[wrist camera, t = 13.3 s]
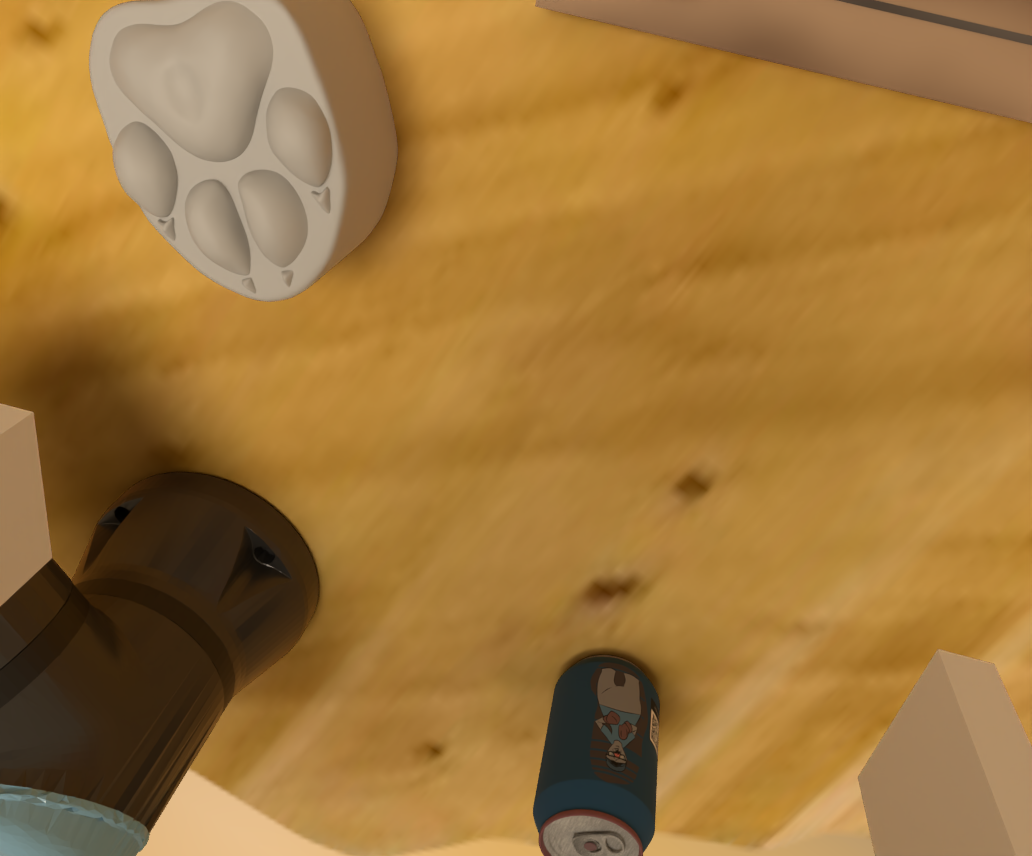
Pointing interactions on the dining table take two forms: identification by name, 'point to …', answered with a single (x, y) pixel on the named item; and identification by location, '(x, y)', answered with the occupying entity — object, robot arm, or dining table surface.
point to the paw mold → (248, 132)
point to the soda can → (599, 762)
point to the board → (858, 41)
